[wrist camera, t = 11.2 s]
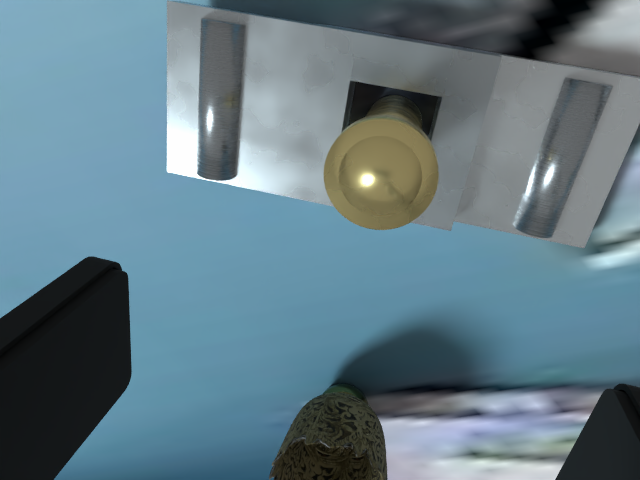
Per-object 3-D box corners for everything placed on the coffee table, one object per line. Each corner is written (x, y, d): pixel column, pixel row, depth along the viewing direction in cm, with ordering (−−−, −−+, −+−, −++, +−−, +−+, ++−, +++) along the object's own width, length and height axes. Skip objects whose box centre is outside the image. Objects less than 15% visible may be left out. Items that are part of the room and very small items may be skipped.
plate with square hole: (645, 77, 24) (684, 89, 20) (576, 237, 28) (599, 270, 24) (192, 1, 27) (156, -1, 23) (189, 157, 31) (157, 177, 27)
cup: (367, 346, 34) (352, 434, 27) (411, 421, 36) (408, 520, 29) (280, 375, 37) (247, 461, 30) (326, 443, 39) (305, 538, 32)
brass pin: (442, 91, 26) (452, 131, 17) (422, 168, 28) (423, 240, 19) (362, 77, 27) (333, 109, 18) (349, 154, 29) (316, 217, 20)
